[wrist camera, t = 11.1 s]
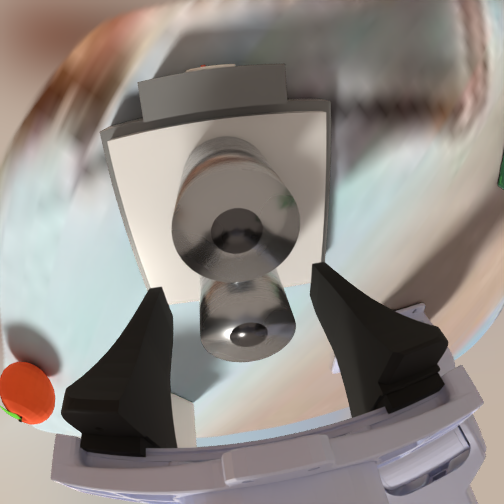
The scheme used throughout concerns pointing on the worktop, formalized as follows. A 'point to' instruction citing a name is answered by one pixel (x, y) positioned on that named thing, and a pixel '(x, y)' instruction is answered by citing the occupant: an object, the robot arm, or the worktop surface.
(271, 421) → the worktop surface
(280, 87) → the scale
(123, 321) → the worktop surface
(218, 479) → the robot arm
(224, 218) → the spacer
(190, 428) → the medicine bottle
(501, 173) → the green cardboard box
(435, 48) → the worktop surface
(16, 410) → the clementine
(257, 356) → the spacer
